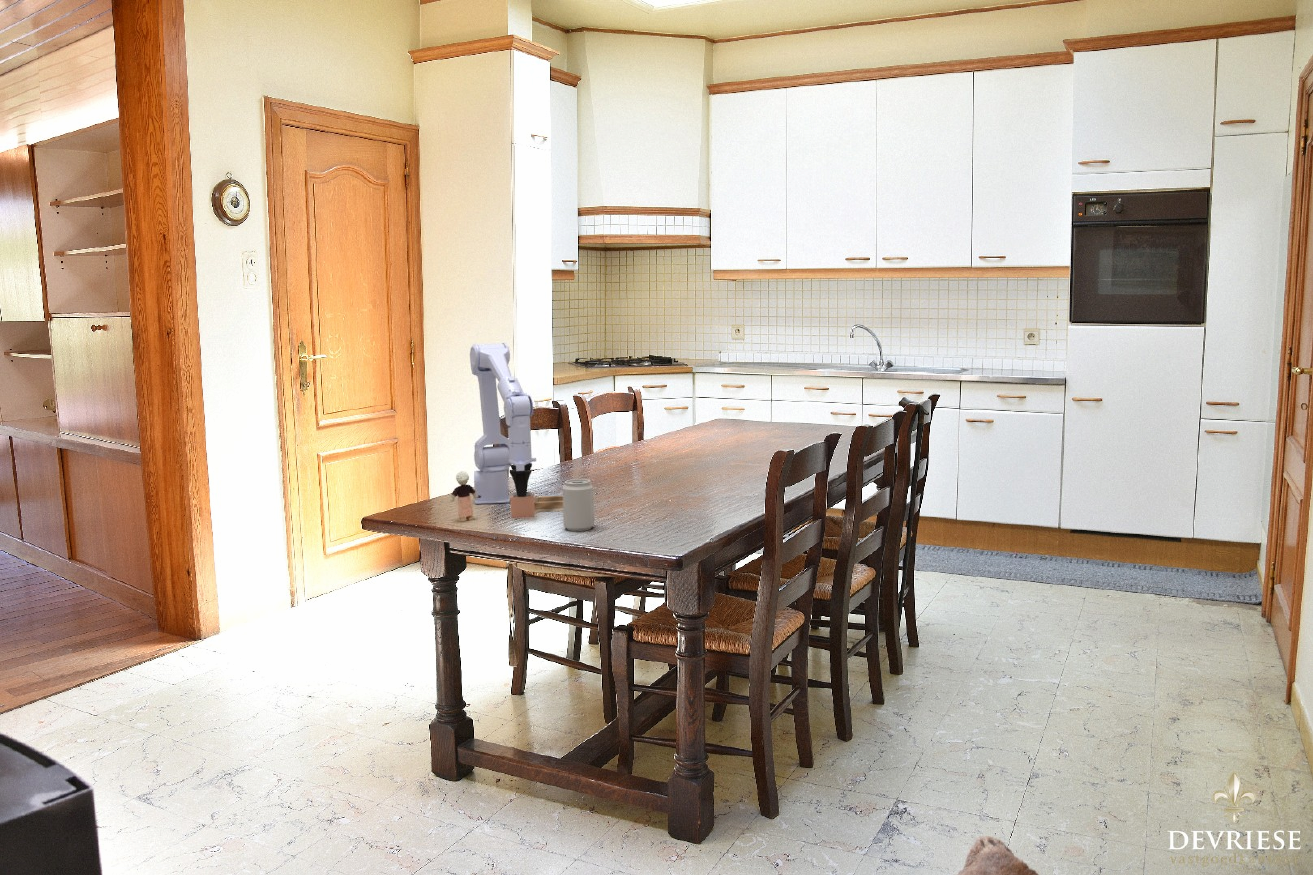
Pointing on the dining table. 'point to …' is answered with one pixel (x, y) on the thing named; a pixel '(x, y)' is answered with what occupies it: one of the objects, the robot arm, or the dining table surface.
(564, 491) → the can
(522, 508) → the salmon block
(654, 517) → the dining table surface
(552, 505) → the frame
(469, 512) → the grandmother figurine
